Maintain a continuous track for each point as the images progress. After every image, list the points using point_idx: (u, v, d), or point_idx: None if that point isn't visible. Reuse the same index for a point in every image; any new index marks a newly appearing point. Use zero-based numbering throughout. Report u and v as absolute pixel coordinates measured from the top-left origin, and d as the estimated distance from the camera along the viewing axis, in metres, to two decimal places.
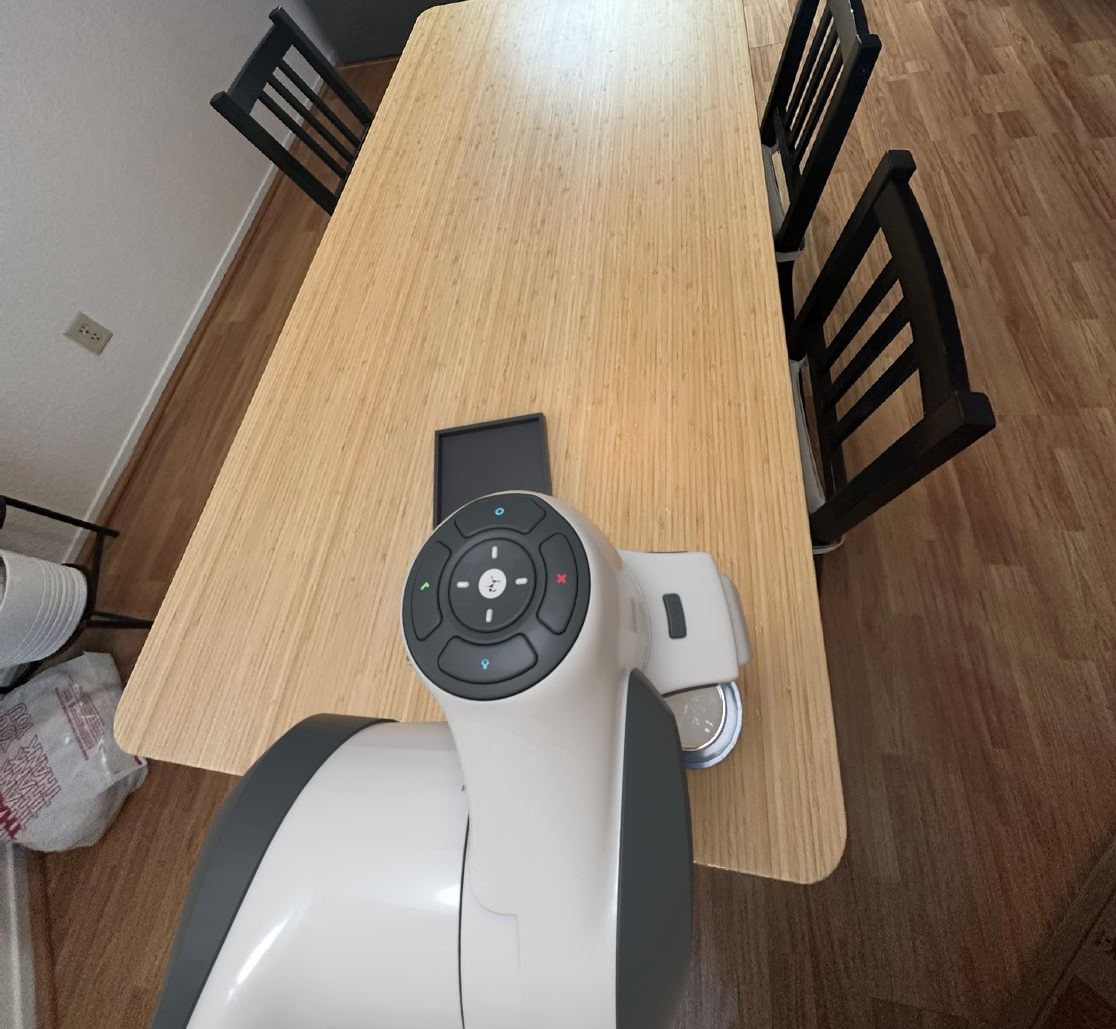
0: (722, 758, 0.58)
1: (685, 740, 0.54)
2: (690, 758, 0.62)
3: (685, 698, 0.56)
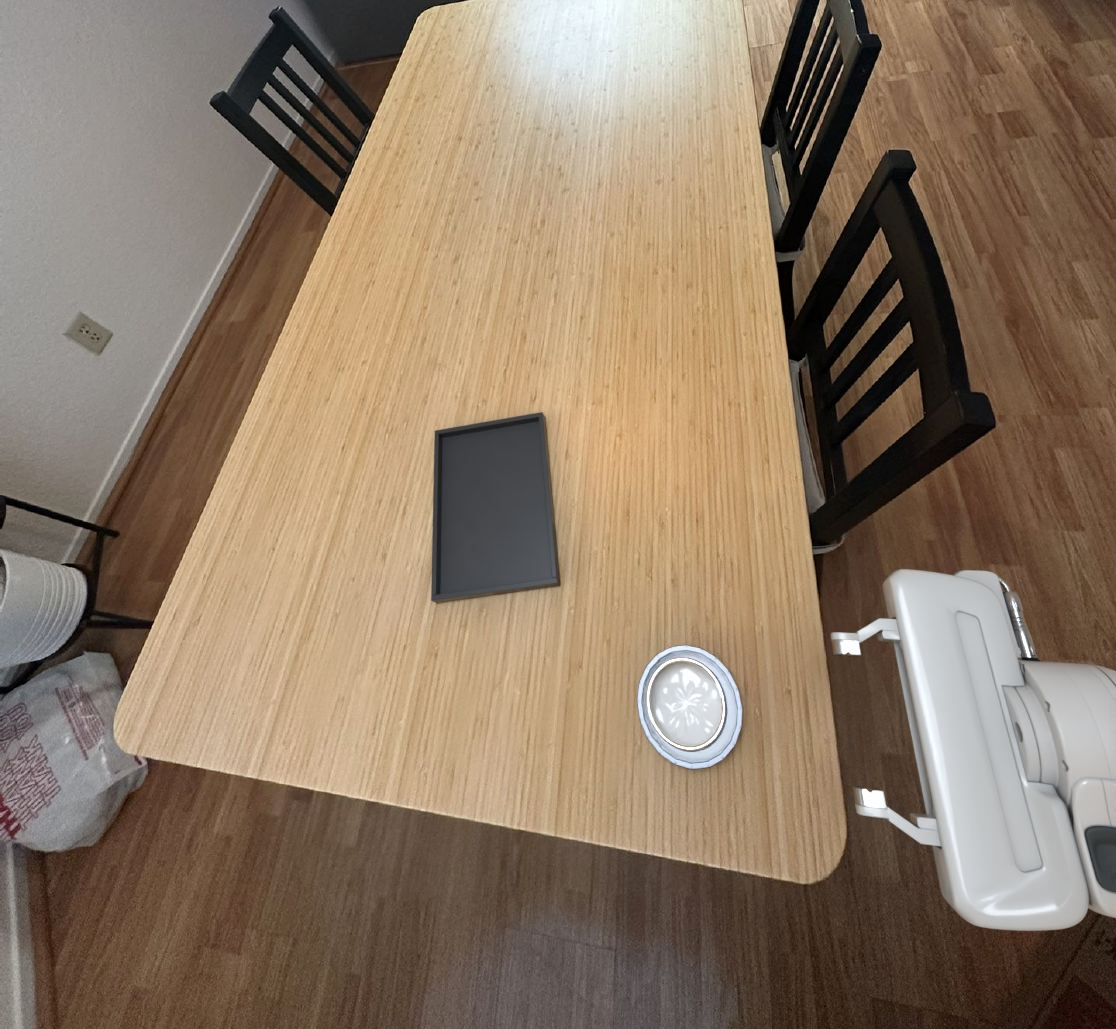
0: (722, 758, 0.58)
1: (685, 740, 0.54)
2: (690, 758, 0.62)
3: (685, 698, 0.56)
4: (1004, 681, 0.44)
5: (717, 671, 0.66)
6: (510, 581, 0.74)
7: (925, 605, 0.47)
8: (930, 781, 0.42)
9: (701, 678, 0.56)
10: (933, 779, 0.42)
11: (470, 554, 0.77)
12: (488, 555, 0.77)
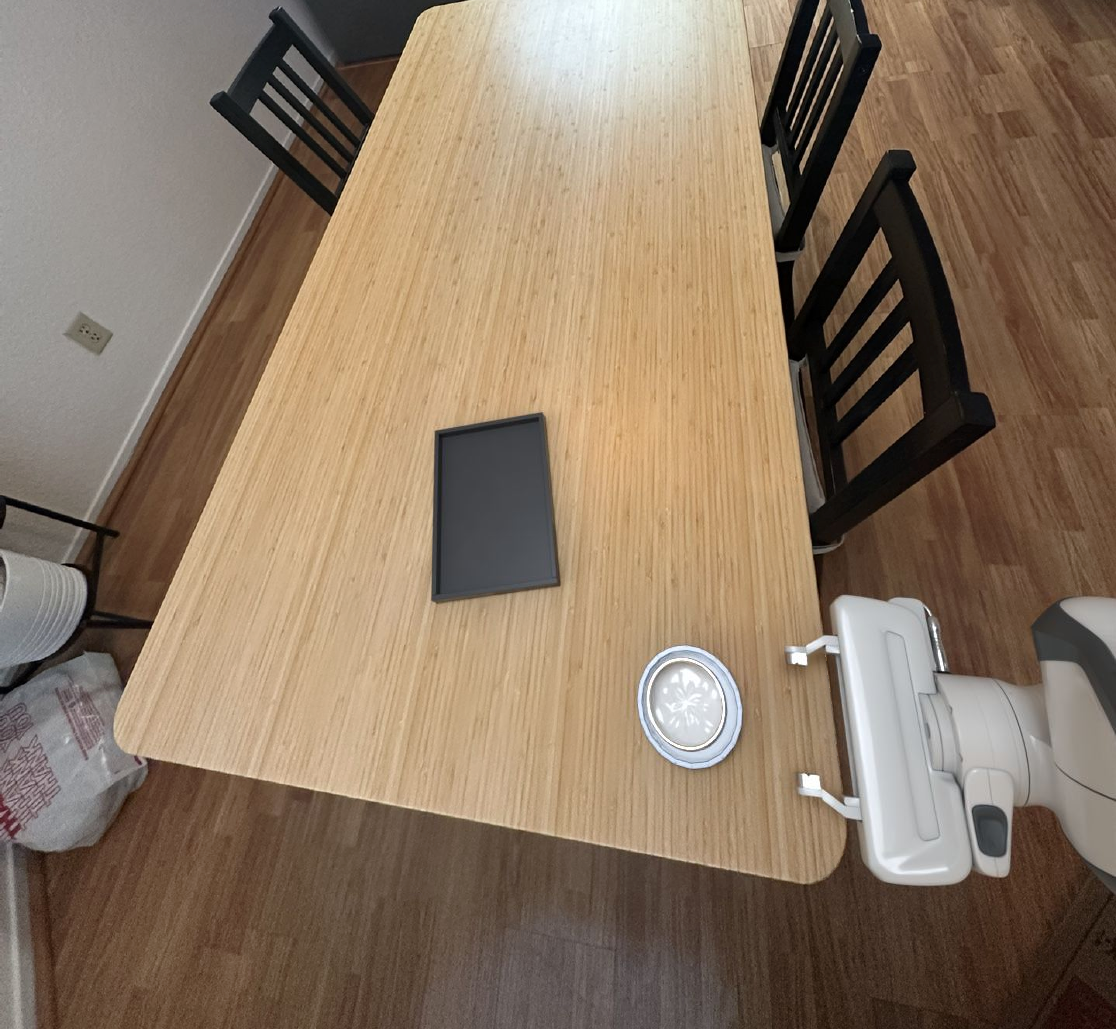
0: (722, 758, 0.58)
1: (685, 740, 0.54)
2: (690, 758, 0.62)
3: (685, 698, 0.56)
4: (920, 689, 0.54)
5: (717, 671, 0.66)
6: (510, 581, 0.74)
7: (861, 625, 0.57)
8: (856, 768, 0.52)
9: (701, 678, 0.56)
10: (858, 767, 0.52)
11: (470, 554, 0.77)
12: (488, 555, 0.77)
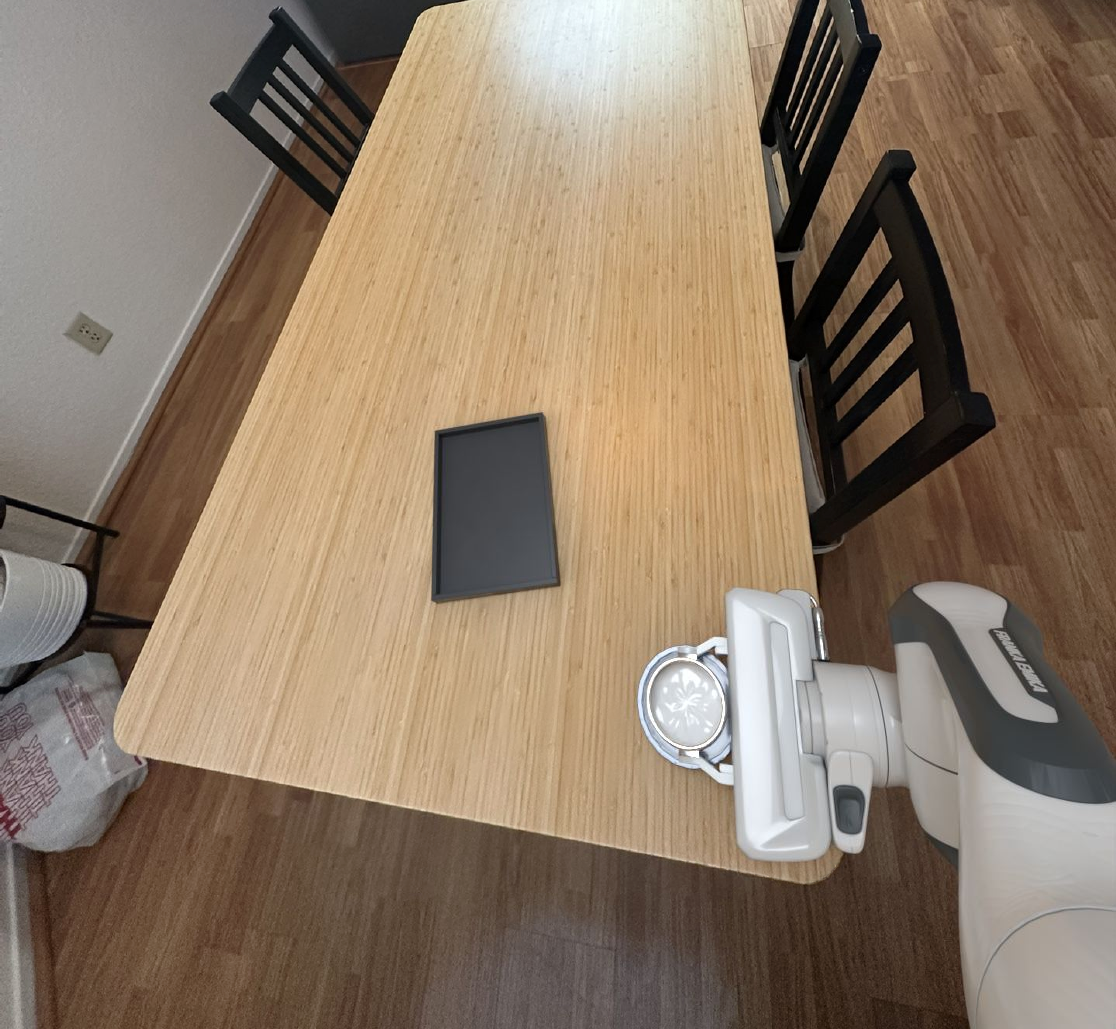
0: (722, 758, 0.58)
1: (685, 740, 0.54)
2: None
3: (685, 698, 0.56)
4: (798, 677, 0.56)
5: (717, 671, 0.66)
6: (510, 581, 0.74)
7: (748, 616, 0.60)
8: (733, 752, 0.54)
9: (701, 678, 0.56)
10: (735, 750, 0.54)
11: (470, 554, 0.77)
12: (488, 555, 0.77)
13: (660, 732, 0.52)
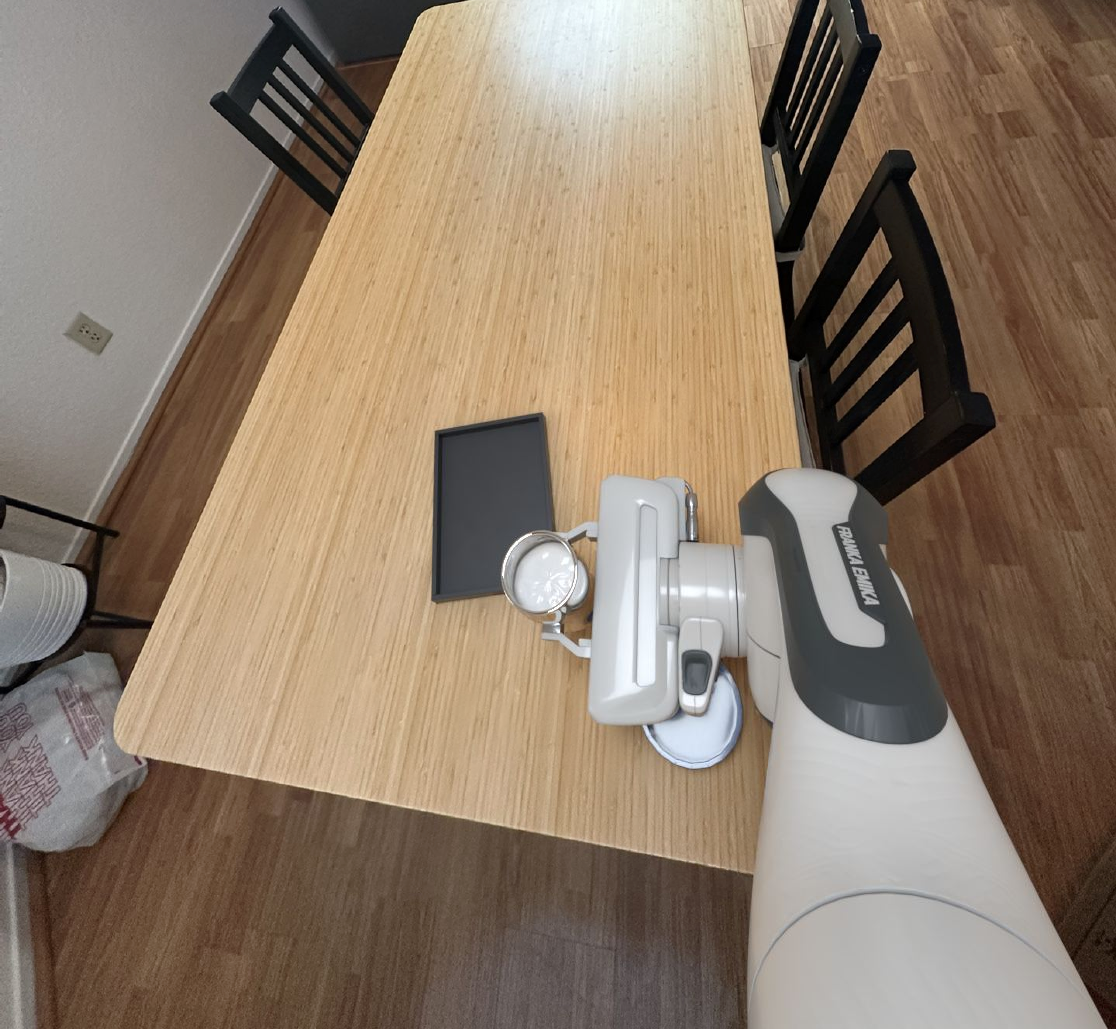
0: (722, 758, 0.58)
1: None
2: (690, 758, 0.62)
3: (548, 575, 0.55)
4: (662, 554, 0.56)
5: None
6: None
7: (620, 500, 0.59)
8: (592, 626, 0.54)
9: (565, 556, 0.56)
10: (594, 624, 0.54)
11: (470, 554, 0.77)
12: (488, 555, 0.77)
13: (511, 599, 0.51)
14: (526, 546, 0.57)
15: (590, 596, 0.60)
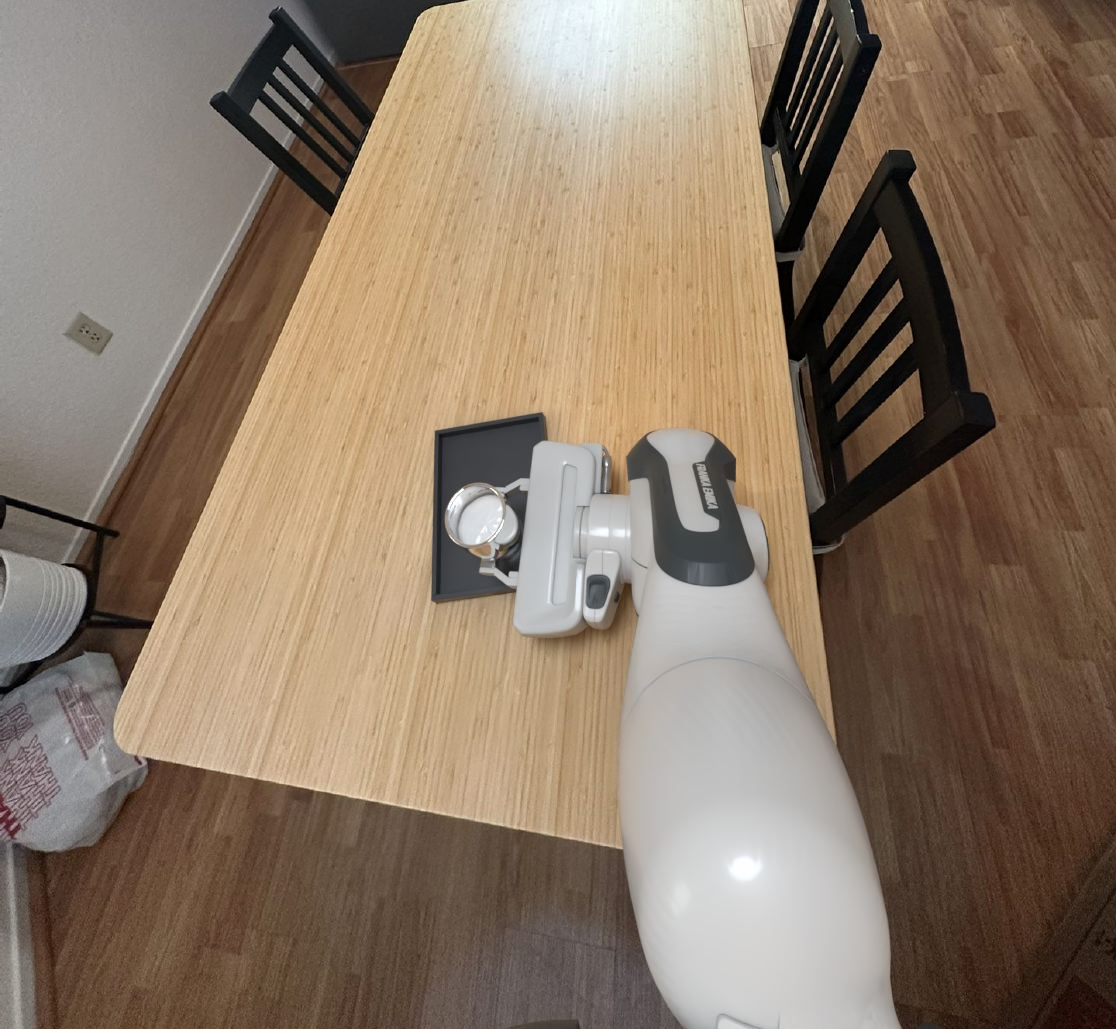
0: None
1: None
2: None
3: (485, 520, 0.68)
4: (579, 503, 0.69)
5: None
6: None
7: (548, 461, 0.72)
8: (520, 560, 0.67)
9: (500, 505, 0.69)
10: (521, 558, 0.67)
11: None
12: None
13: (451, 536, 0.64)
14: (469, 498, 0.69)
15: None
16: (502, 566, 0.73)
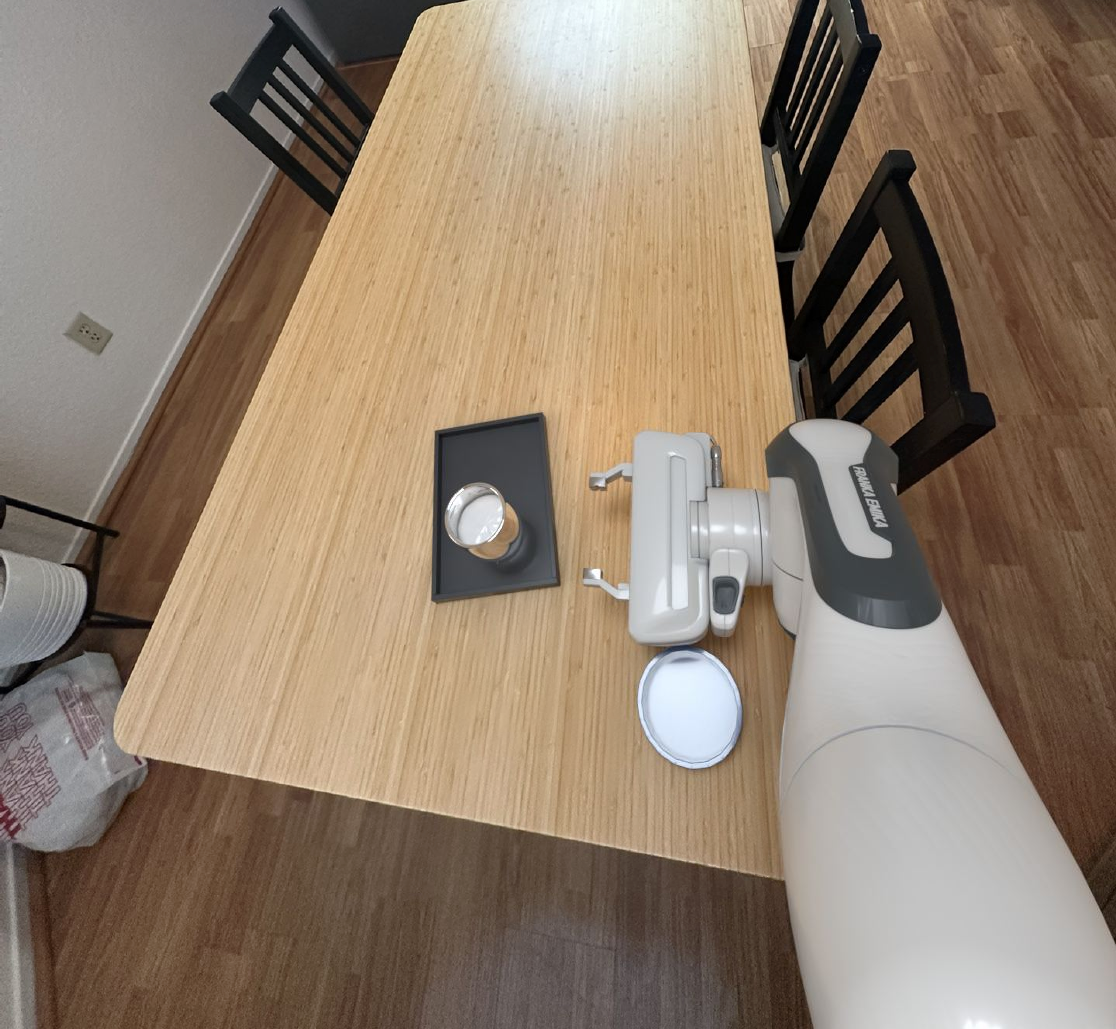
0: (722, 758, 0.58)
1: None
2: (690, 758, 0.62)
3: (485, 520, 0.68)
4: (692, 498, 0.62)
5: (717, 671, 0.66)
6: (510, 581, 0.74)
7: (652, 452, 0.66)
8: (630, 560, 0.60)
9: (500, 505, 0.69)
10: (631, 558, 0.60)
11: None
12: None
13: (451, 536, 0.64)
14: (469, 498, 0.69)
15: (523, 540, 0.72)
16: (502, 566, 0.73)
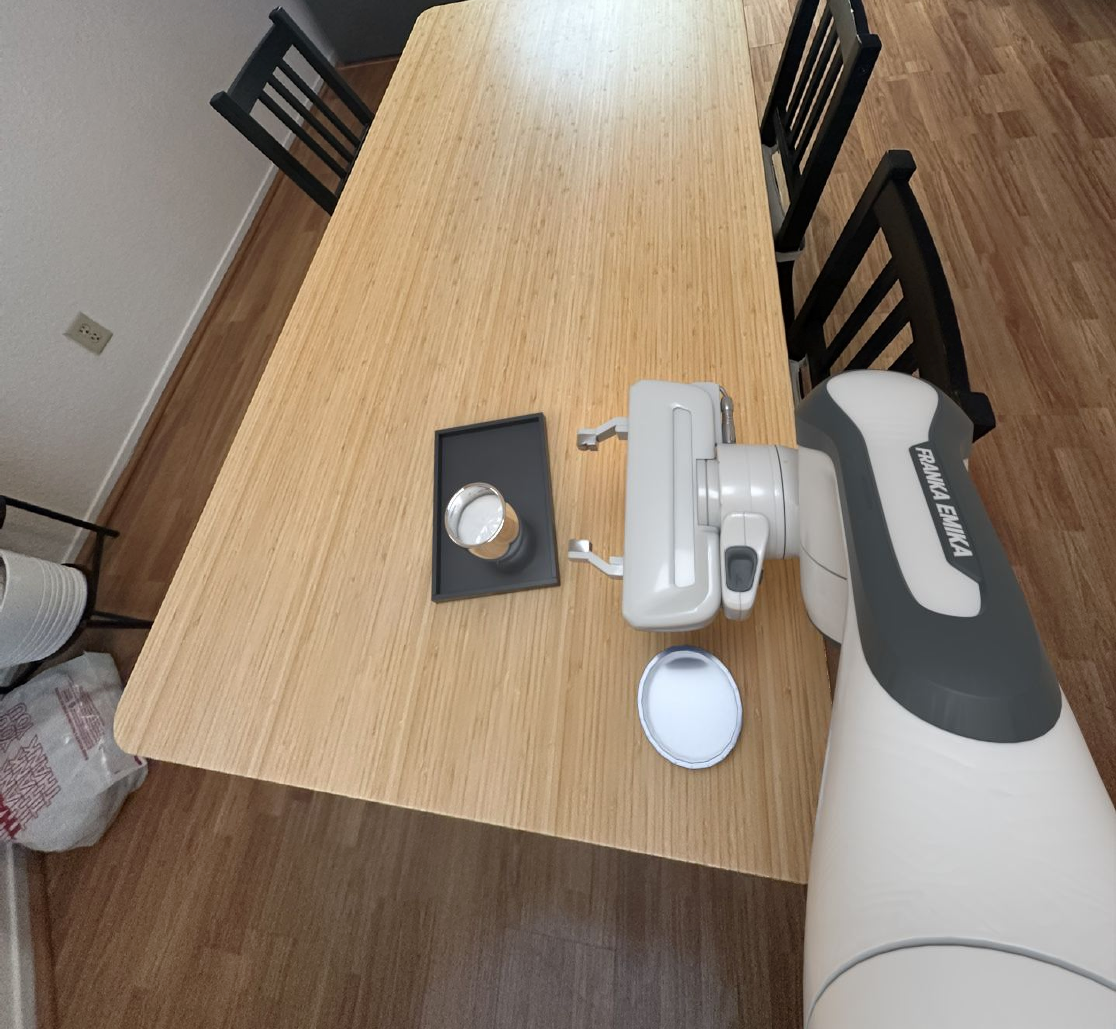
0: (722, 758, 0.58)
1: None
2: (690, 758, 0.62)
3: (485, 520, 0.68)
4: (698, 455, 0.52)
5: (717, 671, 0.66)
6: (510, 581, 0.74)
7: (651, 404, 0.55)
8: (624, 529, 0.50)
9: (500, 505, 0.69)
10: (626, 527, 0.50)
11: None
12: None
13: (451, 536, 0.64)
14: (468, 498, 0.69)
15: (523, 540, 0.72)
16: (502, 566, 0.73)
